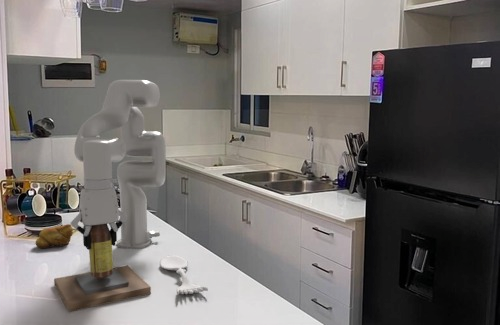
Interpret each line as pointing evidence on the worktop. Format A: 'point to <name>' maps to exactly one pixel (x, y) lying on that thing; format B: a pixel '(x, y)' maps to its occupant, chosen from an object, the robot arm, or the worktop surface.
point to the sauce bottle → (101, 251)
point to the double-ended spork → (179, 265)
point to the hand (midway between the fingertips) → (100, 245)
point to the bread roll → (54, 236)
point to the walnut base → (100, 288)
